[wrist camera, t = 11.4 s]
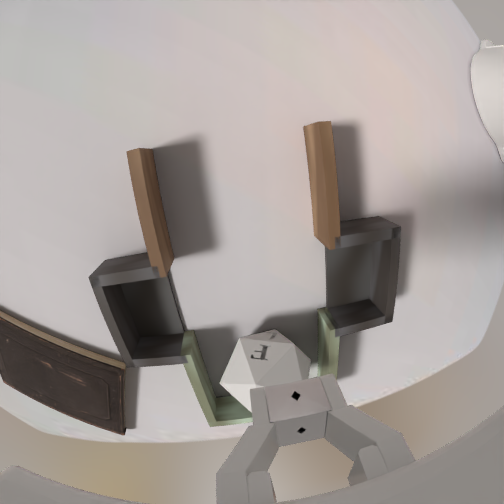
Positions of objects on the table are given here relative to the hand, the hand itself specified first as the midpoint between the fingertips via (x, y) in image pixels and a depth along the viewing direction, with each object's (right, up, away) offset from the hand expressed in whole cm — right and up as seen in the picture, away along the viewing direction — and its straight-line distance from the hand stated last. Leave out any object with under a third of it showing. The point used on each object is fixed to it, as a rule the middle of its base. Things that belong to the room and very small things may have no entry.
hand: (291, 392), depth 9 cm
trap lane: (-1, +1, +18) cm, 18 cm away
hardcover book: (-29, -12, +20) cm, 37 cm away
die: (0, -6, +20) cm, 21 cm away
